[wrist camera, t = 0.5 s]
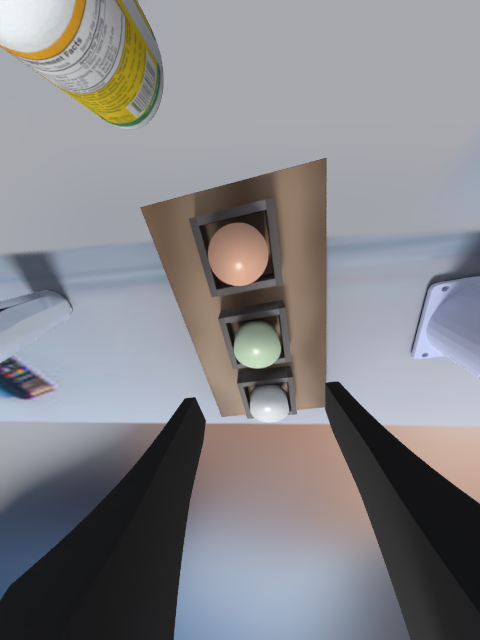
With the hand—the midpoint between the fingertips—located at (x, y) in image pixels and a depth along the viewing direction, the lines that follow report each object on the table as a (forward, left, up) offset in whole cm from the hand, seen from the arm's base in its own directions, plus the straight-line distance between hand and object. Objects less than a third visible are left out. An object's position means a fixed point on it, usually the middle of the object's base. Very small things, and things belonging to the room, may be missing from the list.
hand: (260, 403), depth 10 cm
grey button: (0, +7, -6) cm, 9 cm away
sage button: (0, 0, -6) cm, 6 cm away
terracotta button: (0, -7, -6) cm, 9 cm away
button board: (0, 0, -9) cm, 9 cm away
